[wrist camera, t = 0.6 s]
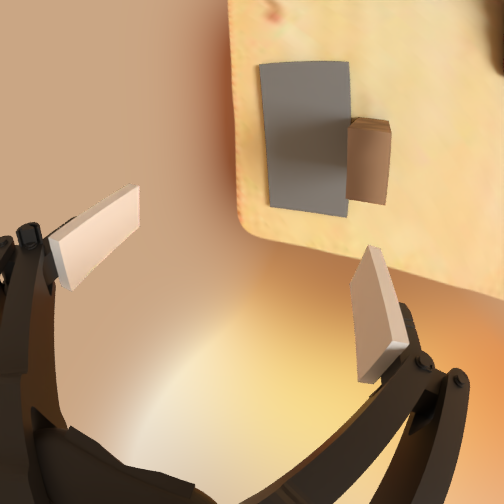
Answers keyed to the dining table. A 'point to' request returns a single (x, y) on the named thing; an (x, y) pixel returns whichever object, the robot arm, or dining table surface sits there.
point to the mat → (307, 134)
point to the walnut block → (368, 160)
